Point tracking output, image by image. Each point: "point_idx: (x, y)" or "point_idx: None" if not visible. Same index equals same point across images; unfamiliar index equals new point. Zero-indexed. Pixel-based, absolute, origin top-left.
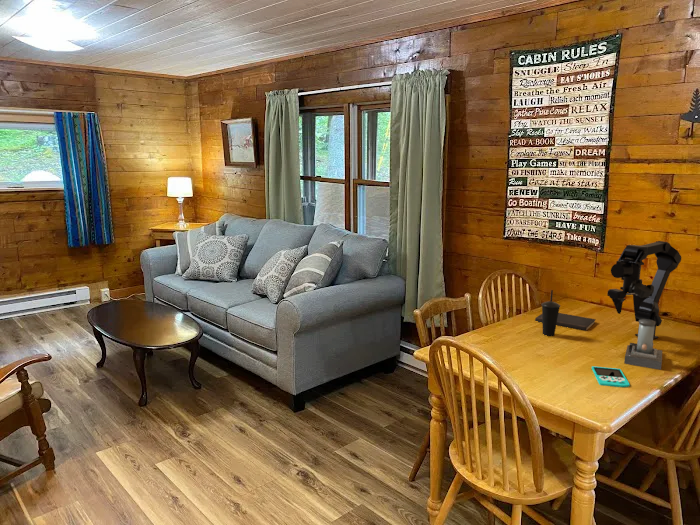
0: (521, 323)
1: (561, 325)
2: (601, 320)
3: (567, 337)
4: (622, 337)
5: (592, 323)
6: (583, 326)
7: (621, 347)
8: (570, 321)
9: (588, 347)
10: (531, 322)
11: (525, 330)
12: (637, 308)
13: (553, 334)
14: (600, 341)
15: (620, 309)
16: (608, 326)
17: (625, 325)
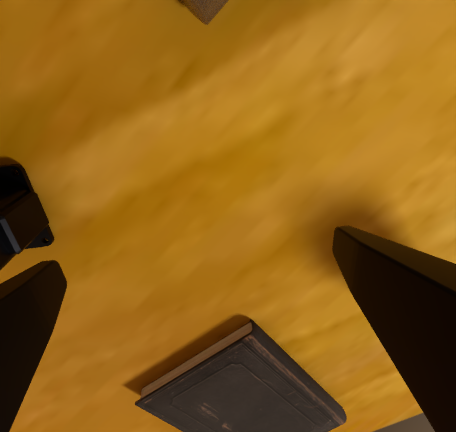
0: (397, 395)
1: (302, 370)
2: (92, 407)
3: None
4: (145, 227)
5: (165, 379)
6: (257, 342)
7: (270, 90)
8: (260, 390)
9: (427, 137)
10: (360, 401)
11: None
12: (21, 291)
13: None
14: (299, 199)
15: (395, 247)
16: (110, 353)
17: None
